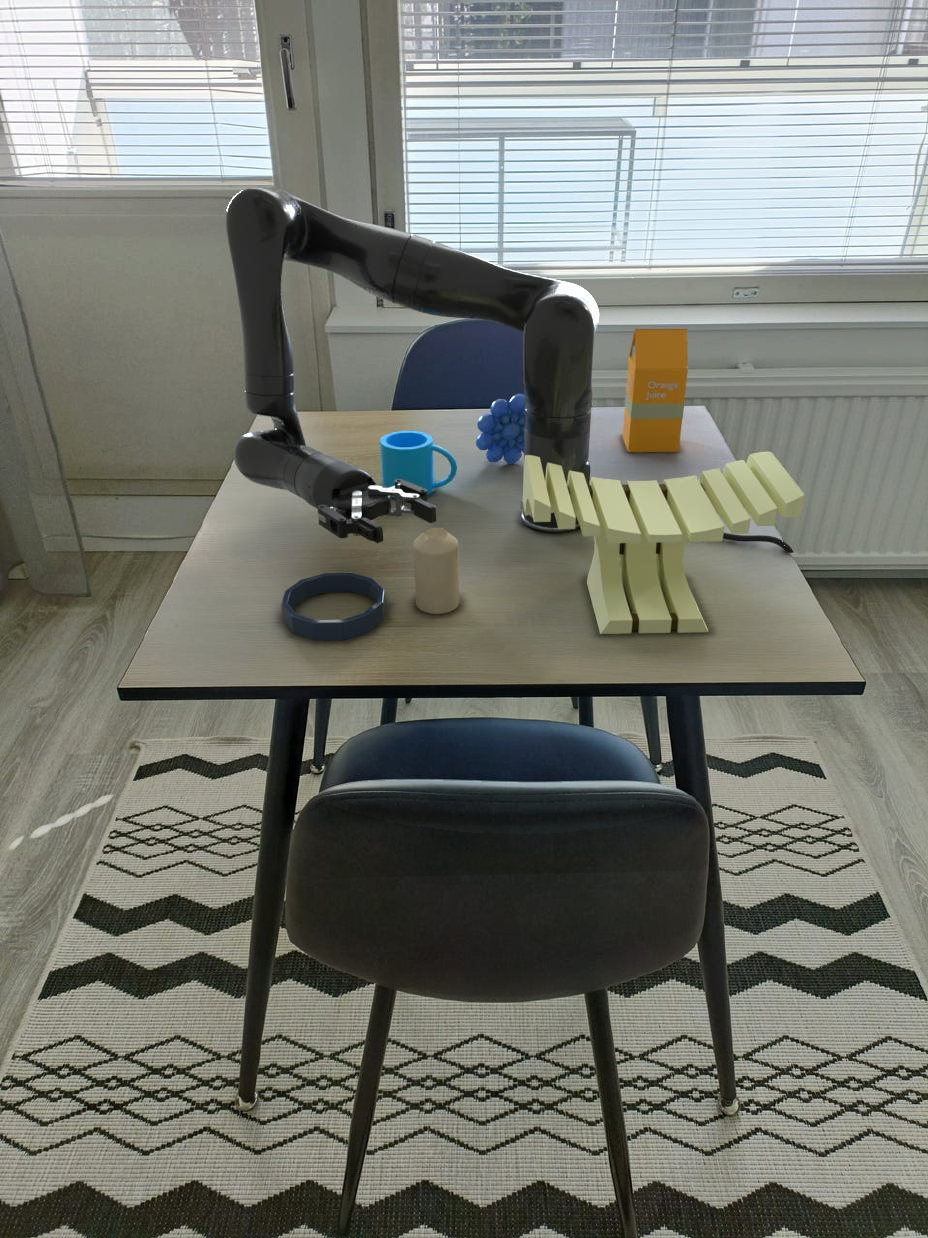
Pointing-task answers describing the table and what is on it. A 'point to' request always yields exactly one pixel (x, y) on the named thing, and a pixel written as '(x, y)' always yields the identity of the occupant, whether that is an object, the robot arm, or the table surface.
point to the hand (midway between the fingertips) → (408, 525)
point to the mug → (412, 459)
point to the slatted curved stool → (656, 531)
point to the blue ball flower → (503, 430)
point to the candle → (436, 571)
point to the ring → (333, 627)
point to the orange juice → (655, 390)
